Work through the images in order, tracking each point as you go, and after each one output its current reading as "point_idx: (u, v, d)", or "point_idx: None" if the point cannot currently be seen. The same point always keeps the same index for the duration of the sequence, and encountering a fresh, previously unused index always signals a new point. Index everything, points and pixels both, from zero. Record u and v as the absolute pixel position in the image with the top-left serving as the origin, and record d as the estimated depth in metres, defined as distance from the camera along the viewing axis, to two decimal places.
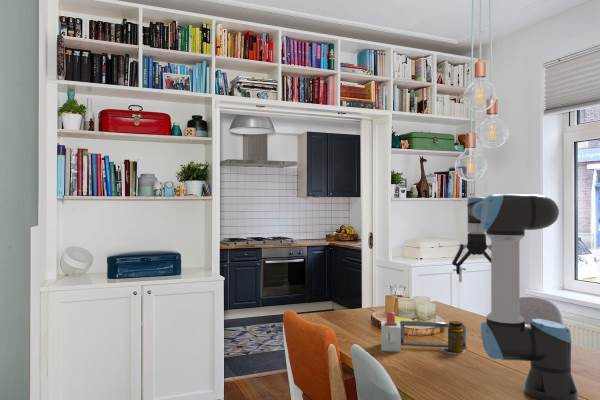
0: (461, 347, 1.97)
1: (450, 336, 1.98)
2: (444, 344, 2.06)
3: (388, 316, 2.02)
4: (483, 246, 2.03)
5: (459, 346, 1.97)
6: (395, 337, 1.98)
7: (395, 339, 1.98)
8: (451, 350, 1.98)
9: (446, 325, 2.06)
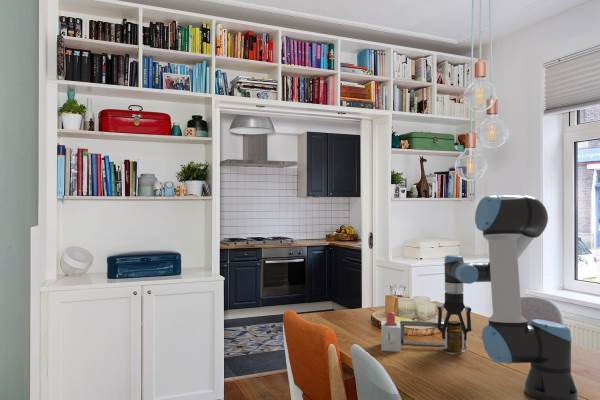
0: (460, 347, 1.97)
1: (449, 336, 1.98)
2: (444, 344, 2.06)
3: (388, 316, 2.02)
4: (461, 306, 1.98)
5: (458, 346, 1.97)
6: (395, 337, 1.98)
7: (395, 339, 1.98)
8: (450, 350, 1.98)
9: None
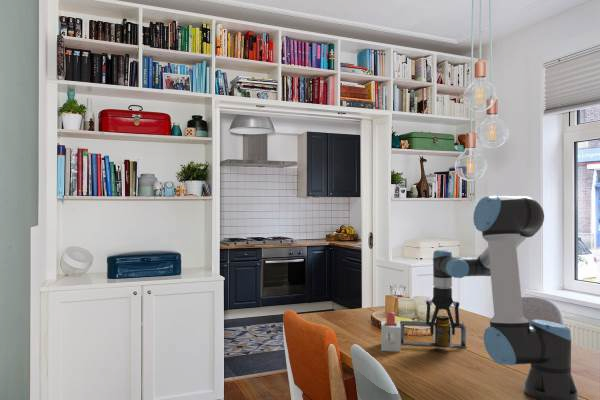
0: (448, 341, 1.98)
1: (437, 330, 1.99)
2: None
3: (388, 316, 2.02)
4: (449, 300, 1.99)
5: (446, 340, 1.98)
6: (395, 337, 1.98)
7: (395, 339, 1.98)
8: (438, 344, 1.99)
9: None
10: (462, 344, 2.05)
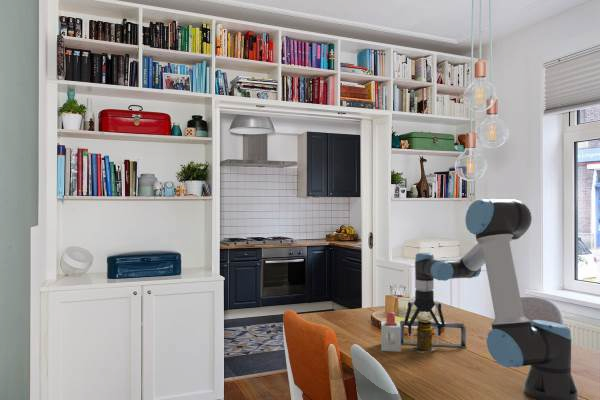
0: (430, 345, 1.99)
1: (419, 334, 2.00)
2: (444, 344, 2.06)
3: (388, 316, 2.02)
4: (430, 303, 2.00)
5: (428, 344, 1.99)
6: (395, 337, 1.98)
7: (395, 339, 1.98)
8: (420, 348, 2.00)
9: (446, 325, 2.06)
10: (462, 344, 2.05)
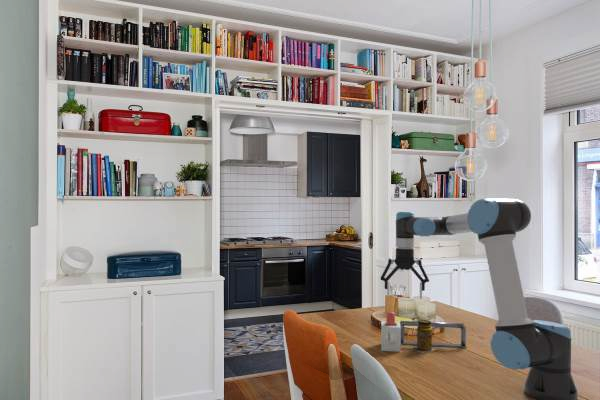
0: (430, 345, 1.99)
1: (419, 334, 2.00)
2: (444, 344, 2.06)
3: (388, 316, 2.02)
4: (410, 261, 2.02)
5: (428, 344, 1.99)
6: (395, 337, 1.98)
7: (395, 339, 1.98)
8: (420, 348, 2.00)
9: (446, 325, 2.06)
10: (462, 344, 2.05)
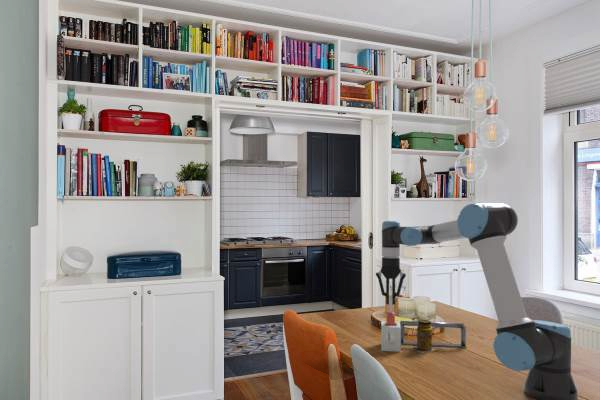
0: (430, 345, 1.99)
1: (419, 334, 2.00)
2: (444, 344, 2.06)
3: (388, 316, 2.02)
4: (397, 270, 2.02)
5: (428, 344, 1.99)
6: (395, 337, 1.98)
7: (395, 339, 1.98)
8: (420, 348, 2.00)
9: (446, 325, 2.06)
10: (462, 344, 2.05)
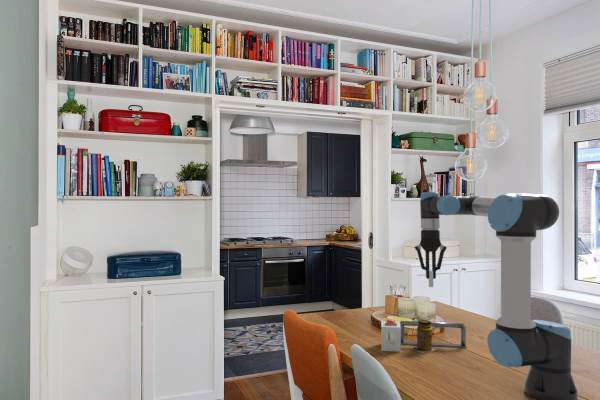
0: (430, 345, 1.99)
1: (419, 334, 2.00)
2: (444, 344, 2.06)
3: (388, 324, 2.02)
4: (437, 242, 1.95)
5: (428, 344, 1.99)
6: (395, 337, 1.98)
7: (395, 339, 1.98)
8: (420, 348, 2.00)
9: (446, 325, 2.06)
10: (462, 344, 2.05)
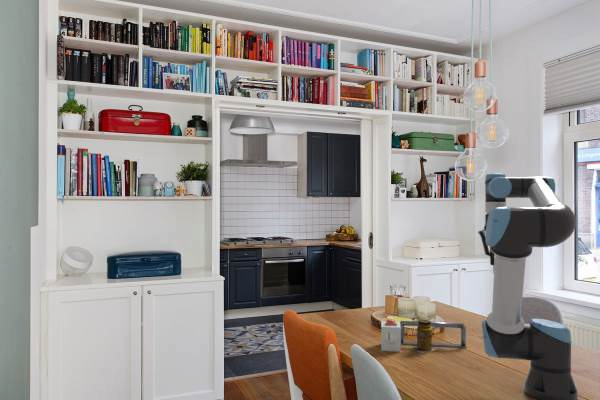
0: (430, 345, 1.99)
1: (419, 334, 2.00)
2: (444, 344, 2.06)
3: (388, 324, 2.02)
4: None
5: (428, 344, 1.99)
6: (395, 337, 1.98)
7: (395, 339, 1.98)
8: (420, 348, 2.00)
9: (446, 325, 2.06)
10: (462, 344, 2.05)
